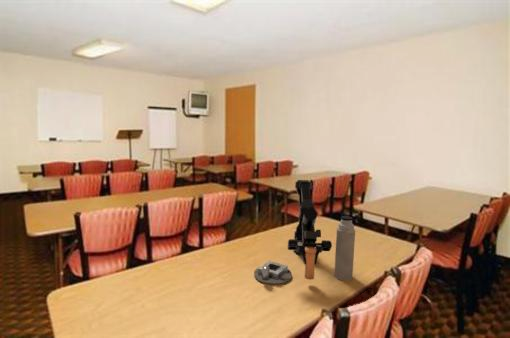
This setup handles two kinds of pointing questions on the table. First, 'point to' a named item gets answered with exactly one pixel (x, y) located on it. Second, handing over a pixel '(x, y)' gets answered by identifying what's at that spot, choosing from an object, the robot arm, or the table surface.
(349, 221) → the thermos bottle
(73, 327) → the table surface
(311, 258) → the wooden peg
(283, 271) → the grey peg hole base
